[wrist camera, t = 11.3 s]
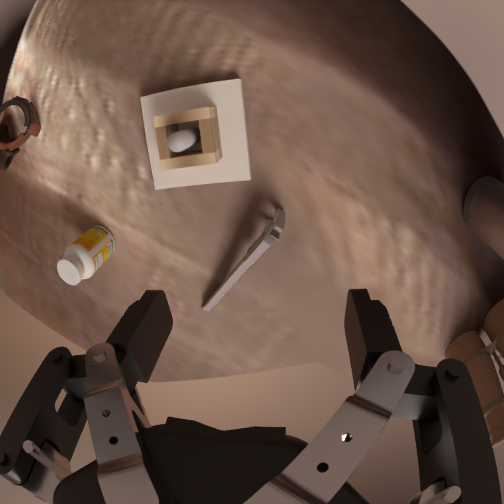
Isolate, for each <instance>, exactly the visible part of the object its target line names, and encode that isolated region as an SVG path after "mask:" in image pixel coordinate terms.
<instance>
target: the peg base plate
mask: <svg viewBox="0 0 504 504" xmlns="http://www.w3.org/2000/svg"><path fill="white" fill-rule="evenodd" d="M140 98H141V106H142V113H143V120H144V127H145V134H146V140H147V146H148V152H149V158H150V163H151V169H152V174H153V179H154V185H155V190H158V189H166V188H173V187H182V186H190V185H200V184H209V183H220V182H231V181H243V180H251V177H252V176H251V166H250V156H249V146H248V136H247V126H246V117H245V107H244V97H243V88H242V80H241V79H233V80H225V81H218V82H211V83H205V84H199V85H193V86H188V87H183V88H178V89H173V90H168V91H164V92H160V93H155V94H151V95H147V96H143V97H140ZM204 107H217V114H218V123H219V131H220V139H221V148H222V156H223V157H222V158H221V159H220V160H219V161H218V162H217V163H216V164H210V165H201V166H193V167H185V168H178V169H170V170H164V171H162V169H161V163H160V157H159V151H158V145H157V139H156V132H155V126H154V119H153V117H155V116H160V115H165V114H170V113H175V112H180V111H186V110H191V109H197V108H204ZM178 130H179V131H178V132H175V133H172V134H171V135H170V136H169V138H168V141H167V144H168V147H169V149H170V150H172V151H173V152H181V151H182V152H187V151H194V150H201V149H202V143H201V136H200V128H199V120H194V121H188V122H182V123H178Z"/></svg>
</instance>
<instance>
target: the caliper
mask: <svg viewBox="0 0 504 504" xmlns="http://www.w3.org/2000/svg"><path fill="white" fill-rule="evenodd" d="M284 223H285V212H284V211H283V210H281V209H280V208H277V209H276V211H275V215H274V219H272V218H271V217H270V218H269V219H268V221H267V223H266V226H265V228H264V230H263V233H262V235H261V236H260V238H259V239H257V240H256V241H255V242H254V243H253V245H252V246H251V247H250V248H249V249H248V252H247V254H246V255H245V256H244V258H243V259H242V260H241V261H240V262H239V263H238V265H237V266H236V267H235V268H234V269H233V271H232V272H231V273H230V274H229V275H228V277H227V278H226V279H225V280H224V281H223V282H222V284H221V285H220V286H219V287H218V288H217V290H216V291H215V292H214V293H213V294H212V295H211V297H210V298H209V299H208V301H207V302H206V304H205V305H204V306H203V307H202V309H203V310H205V311H207V312H208V311H210V310H211V309H212V308H213V307H214V305H215V304H216V303H217V302H218V301H219V300H220V299H221V298H222V297H223V295H224V294H225V293H226V292H227V291H228V290H229V289H230V288H231V287H232V285H233V284H234V283H235V282H236V281H237V280H238V279H239V278H240V276H241V275H242V274H243V273H244V272H245V271H246V270H247V269H248V268H249V266H252V265H253V263H254V262H255V261H256V260H257V259H258V258H259V257H260V256H261V255H262V254H263V252H264V251H265V250H266V249H267V248H268V247H269V246H271V247H272V246H273V244H274V242H275V240H279V235H280V233H281V232H282V231H283V228H284Z"/></svg>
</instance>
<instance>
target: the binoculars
mask: <svg viewBox="0 0 504 504" xmlns="http://www.w3.org/2000/svg"><path fill="white" fill-rule="evenodd" d="M483 329H484V331H485V332H486V333H487V335H488V337H489V338H490V340H491V342H492V343H491V344H490V345H488V346H487V347H486V346H485V344H484V343H483V341H482V339H481V338H480V336H479V334H478V332H477V331H468V332H465V333H463V334H462V335H460V336H459V337H457V338H456V339H455V340H454V341H453V342H452V343H451V344H450V345H449V347H448V348H447V350H446V352H445V358H446V359H447V358H454V359H457V360H459V361H461V362H462V363H464V364H465V365H466V367H467V368H468V371H469V373H470V376H471V378H472V381H473V384H474V387H475V390H476V392H477V395H478V398H479V401H480V404H481V408H482V411H483V414H484V417H485V421H486V424H487V428H488V431H489V435H490V439H491V440H492V448H494V447H496V446H498V445H500V444H501V443H503V442H504V394H503V391H502V388H501V385H500V381H499V378H498V375H497V372H496V369H495V366H494V363H493V359H494V358H495V360H496V362H497V364H498V365H499V374H500V376H501V378H502V379H503V381H504V365H502V363H501V362H500V359H499V358H498V355H501V356H502V357H503V358H504V299H503V300H501V301H500V302H498V303H497V304H496V305H495V306H494V307H493V308H492V309H491V310H490V311H489V313H488V314H487V316H486V318H485V320H484V323H483Z"/></svg>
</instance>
